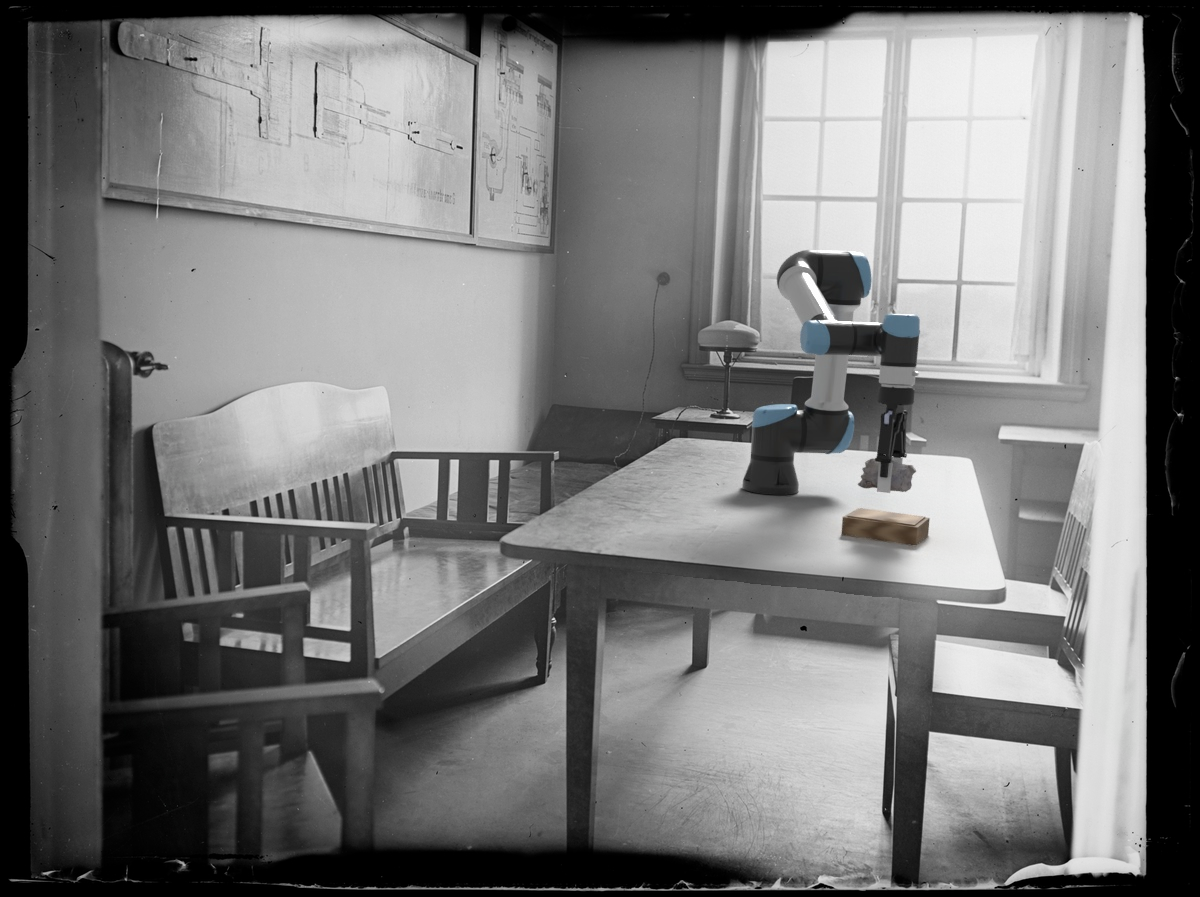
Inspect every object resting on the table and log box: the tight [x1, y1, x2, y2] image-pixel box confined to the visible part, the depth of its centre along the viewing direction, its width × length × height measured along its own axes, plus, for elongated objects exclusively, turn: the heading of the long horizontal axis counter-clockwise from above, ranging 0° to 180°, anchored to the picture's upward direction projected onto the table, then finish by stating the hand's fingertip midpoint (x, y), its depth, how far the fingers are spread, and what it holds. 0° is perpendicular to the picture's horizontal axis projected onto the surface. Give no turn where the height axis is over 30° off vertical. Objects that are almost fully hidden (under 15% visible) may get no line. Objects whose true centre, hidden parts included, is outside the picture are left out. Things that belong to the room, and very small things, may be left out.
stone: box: [857, 458, 917, 493], centre depth 210 cm, size 8×12×7 cm, turn 55°
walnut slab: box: [841, 507, 931, 547], centre depth 212 cm, size 16×12×4 cm
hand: (888, 489), depth 210 cm, fingers closed on stone, 8 cm apart
